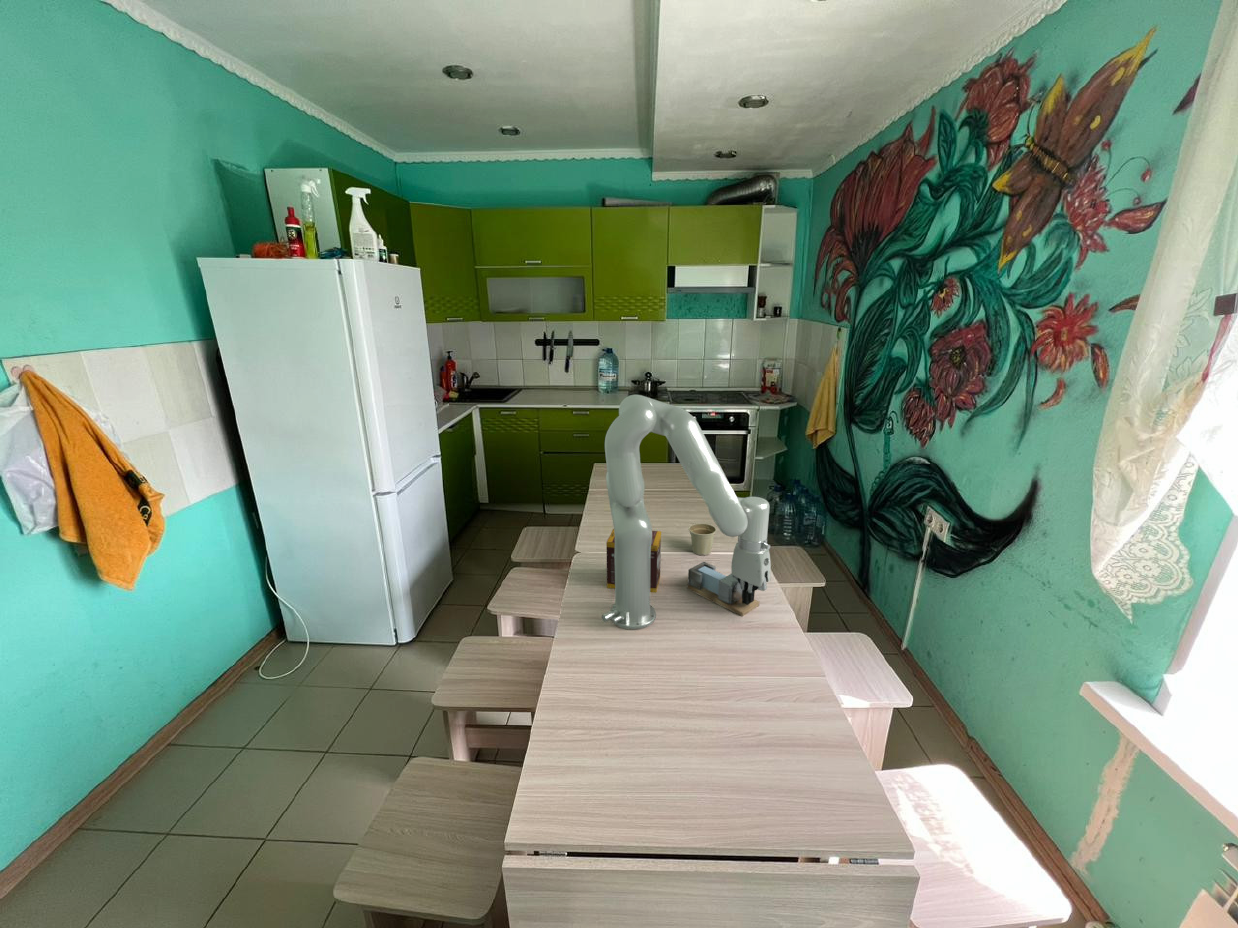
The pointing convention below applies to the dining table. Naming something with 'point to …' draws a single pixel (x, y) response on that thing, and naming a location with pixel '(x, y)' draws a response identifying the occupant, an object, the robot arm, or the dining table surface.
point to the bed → (696, 587)
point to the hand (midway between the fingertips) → (747, 602)
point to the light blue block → (710, 579)
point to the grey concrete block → (729, 590)
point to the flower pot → (702, 538)
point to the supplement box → (654, 561)
